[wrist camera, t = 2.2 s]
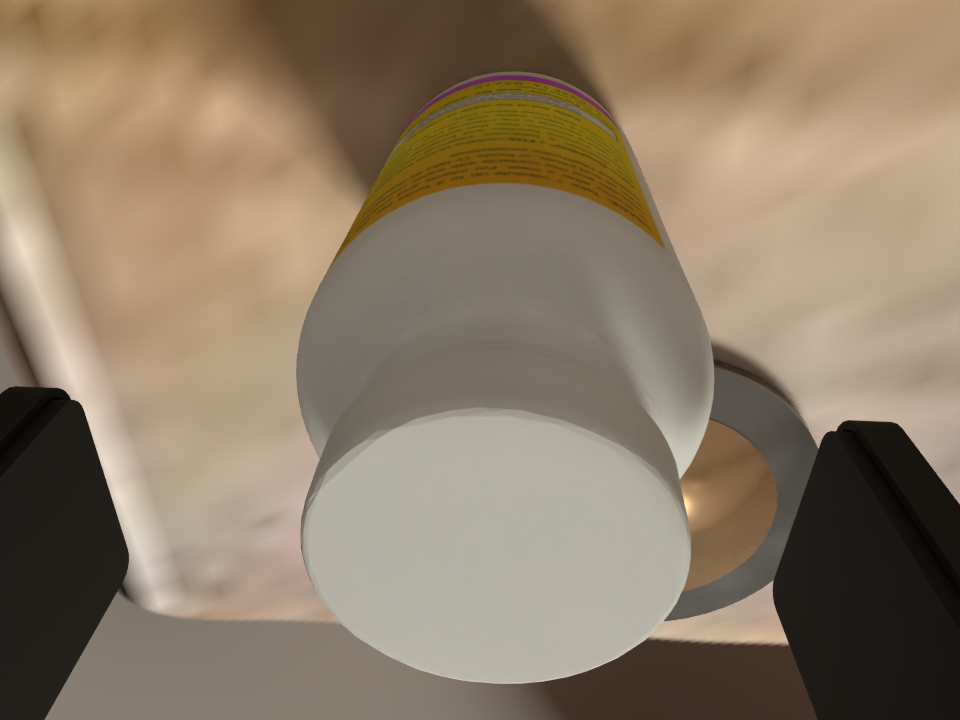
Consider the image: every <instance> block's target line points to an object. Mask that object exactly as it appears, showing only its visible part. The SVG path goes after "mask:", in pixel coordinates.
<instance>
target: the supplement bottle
mask: <svg viewBox="0 0 960 720" xmlns="http://www.w3.org/2000/svg"><path fill="white" fill-rule="evenodd" d="M296 377H297V391H298V398H299V404H300V409H301V413H302V417H303V420H304V423H305V426H306V429H307V432H308V435H309V437H310V440H311V442H312V444H313V446H314V448H315V450H316V452H317V454H318V456H319V458H320V461H319V463H318V466H317V469H316V471H315V474H314V477H313V480H312V483H311V486H310V488H309V491H308V494H307V497H306V500H305V505H304V509H303V514H302V518H301V550H302V554H303V559H304V563H305V567H306V570H307V573H308V576H309V578H310V580H311V582H312V584H313V586H314V588H315V590H316V592H317V594H318V595H319V596H320V598H321V599H322V601H323V602H324V604H325V605H326V606H327V608H328V609H329V610H330V612H331V613H332V614H333V615H334V616H335V617H336V618H337V620H338V621H339V622H340V623H341V624H342V625H344V626H345V627H346V628H347V629H348V630H349V631H350V632H351V633H353V634H354V635H355V636H356V637H358V638H359V639H361V640H362V641H364V642H366V643H368V644H369V645H371V646H372V647H374V648H375V649H377V650H379V651H380V652H382V653H384V654H386V655H388V656H389V657H391V658H393V659H395V660H398V661H400V662H402V663H405V664H407V665H409V666H411V667H413V668H416V669H419V670H422V671H425V672H429V673H432V674H436V675H440V676H444V677H448V678H453V679H458V680H464V681H471V682H487V683H497V684H500V683H501V684H503V683H504V684H507V683H530V682H541V681H547V680H553V679H558V678H564V677H568V676H571V675H575V674H578V673H582V672H585V671H588V670H590V669H593V668H596V667H598V666H600V665H602V664H605V663H607V662H609V661H612V660H614V659H616V658H618V657H619V656H621V655H622V654H624V653H626V652H627V651H629V650H630V649H632V648H633V647H635V646H636V645H638V644H639V643H641V642H643V641H644V640H646V639H647V638H648V637H649V636H650V635H651V634H652V633H653V632H654V631H655V630H656V629H657V628H658V627H659V626H660V624H661V623H662V622H663V621H664V620H665V619H666V617H667V616H668V615H669V614H670V612H671V611H672V609H673V608H674V606H675V605H676V603H677V601H678V599H679V597H680V594H681V592H682V590H683V588H684V586H685V583H686V580H687V576H688V572H689V567H690V559H691V535H690V528H689V522H688V517H687V512H686V508H685V503H684V499H683V494H682V489H681V484H680V479H681V477H682V476H683V474H684V473H685V472H686V470H687V469H688V467H689V466H690V464H691V462H692V460H693V459H694V457H695V455H696V453H697V450H698V448H699V446H700V444H701V441H702V439H703V437H704V434H705V431H706V428H707V425H708V421H709V416H710V412H711V407H712V402H713V392H714V363H713V353H712V347H711V341H710V337H709V334H708V330H707V327H706V324H705V321H704V318H703V316H702V313H701V310H700V308H699V306H698V303H697V301H696V299H695V296H694V294H693V292H692V290H691V287H690V285H689V283H688V281H687V278H686V276H685V274H684V272H683V269H682V267H681V265H680V262H679V260H678V258H677V255H676V253H675V251H674V248H673V246H672V243H671V241H670V239H669V236H668V234H667V232H666V229H665V227H664V224H663V222H662V219H661V217H660V215H659V212H658V210H657V207H656V205H655V202H654V200H653V198H652V195H651V193H650V190H649V188H648V185H647V183H646V181H645V178H644V176H643V173H642V171H641V168H640V166H639V164H638V161H637V159H636V157H635V154H634V152H633V150H632V148H631V146H630V144H629V142H628V140H627V138H626V136H625V134H624V133H623V131H622V129H621V128H620V127H619V125H618V124H617V122H616V121H615V120H614V118H613V117H612V116H611V115H610V114H609V113H608V112H607V111H606V110H605V109H604V108H603V107H602V106H601V105H600V104H599V103H598V102H597V101H596V100H594V99H593V98H592V97H590V96H589V95H587V94H586V93H585V92H583V91H582V90H580V89H578V88H576V87H574V86H572V85H570V84H568V83H566V82H564V81H562V80H559V79H557V78H553V77H550V76H546V75H542V74H536V73H530V72H520V71H513V72H496V73H490V74H485V75H480V76H476V77H473V78H470V79H468V80H465V81H463V82H460V83H458V84H456V85H454V86H452V87H451V88H449V89H447V90H445V91H443V92H442V93H440V94H439V95H437V96H436V97H435V98H433V99H432V100H431V101H430V102H428V103H427V104H426V105H425V106H424V107H423V108H422V109H421V110H420V111H419V112H418V113H417V114H416V115H415V116H414V117H413V119H412V120H411V121H410V122H409V124H408V125H407V126H406V128H405V129H404V131H403V132H402V134H401V135H400V137H399V139H398V140H397V142H396V144H395V146H394V147H393V149H392V151H391V153H390V155H389V157H388V159H387V161H386V163H385V164H384V166H383V168H382V170H381V172H380V174H379V176H378V178H377V180H376V182H375V184H374V185H373V187H372V189H371V191H370V193H369V195H368V197H367V198H366V200H365V202H364V204H363V206H362V208H361V210H360V212H359V213H358V215H357V217H356V219H355V221H354V223H353V224H352V226H351V228H350V230H349V232H348V234H347V236H346V238H345V240H344V242H343V243H342V245H341V247H340V249H339V251H338V252H337V254H336V256H335V258H334V260H333V262H332V264H331V265H330V267H329V269H328V271H327V273H326V275H325V276H324V278H323V280H322V282H321V284H320V285H319V287H318V290H317V292H316V294H315V296H314V298H313V300H312V302H311V305H310V307H309V309H308V312H307V315H306V318H305V321H304V324H303V327H302V331H301V335H300V341H299V348H298V354H297V369H296Z"/></svg>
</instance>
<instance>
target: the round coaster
mask: <svg viewBox="0 0 960 720" xmlns="http://www.w3.org/2000/svg"><path fill="white" fill-rule="evenodd" d="M713 363H714V392H713V402H712V407H711V412H710V416H709V421H708V425H707V428H706V431H705V434H704V437H703V439H702V441H701V444H700V446H699V448H698V450H697V453H696V455H695V457H694V459H693V460H692V462H691V464H690V466H689V467H688V469H687V470H686V472H685V473H684V474H683V476H682V477H681V479H680V484H681V489H682V494H683V499H684V503H685V508H686V512H687V517H688V522H689V528H690V535H691V559H690V567H689V572H688V576H687V580H686V583H685V586H684V588H683V590H682V592H681V594H680V597H679V599H678V601H677V603H676V605H675V606H674V608H673V609H672V611H671V612H670V614H669V615H668V616H667V617H666V619H665V620H664V621H671V620H677V619H684V618H689V617H693V616H697V615H701V614H706V613H709V612H712V611H715V610H718V609H721V608H724V607H726V606H729V605H731V604H733V603H735V602H738V601H740V600H742V599H744V598H746V597H748V596H749V595H751V594H753V593H755V592H757V591H758V590H760V589H762V588H763V587H764V586H766V585H767V584H769V583H770V582H771V581H773V580H774V578H775V575H776V572H777V569H778V566H779V563H780V560H781V557H782V554H783V551H784V549H785V546H786V543H787V540H788V537H789V534H790V531H791V528H792V525H793V522H794V520H795V517H796V514H797V511H798V508H799V505H800V502H801V499H802V496H803V494H804V491H805V488H806V485H807V482H808V479H809V476H810V473H811V470H812V467H813V465H814V462H815V459H816V456H817V453H818V448H817V446H816V443H815V441H814V439H813V437H812V435H811V434H810V432H809V430H808V428H807V426H806V424H805V422H804V421H803V419H802V418H801V416H800V415H799V414H798V412H797V411H796V410H795V408H794V407H793V405H792V404H791V403H790V402H789V401H788V400H787V399H786V398H784V397H783V396H782V395H781V394H780V393H779V392H778V391H777V390H776V389H774V388H773V387H771V386H770V385H769V384H767V383H766V382H764V381H763V380H762V379H760V378H758V377H756V376H754V375H752V374H750V373H748V372H747V371H745V370H743V369H740V368H738V367H735V366H732V365H729V364H727V363H724V362H721V361H717V360H713Z"/></svg>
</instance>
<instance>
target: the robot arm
mask: <svg viewBox="0 0 960 720" xmlns="http://www.w3.org/2000/svg"><path fill="white" fill-rule="evenodd" d="M128 563H129V553H128V548H127V545H126V542H125V539H124V536H123V533H122V529H121V526H120V523H119V520H118V517H117V514H116V510H115V507H114V504H113V501H112V498H111V495H110V491H109V488H108V485H107V482H106V479H105V476H104V472H103V469H102V466H101V463H100V460H99V457H98V454H97V450H96V447H95V444H94V441H93V438H92V435H91V431H90V428H89V425H88V422H87V419H86V416H85V412H84V410H83V408H82V405H81V404H80V403H79V402H78V401H75V400H71V399H70V397H69V395H68V394H67V393H66V392H65V391H64V390H62V389H59V388H43V387H19V386H15V387H10V388H8V389H7V390H5V391H4V392H2V393H1V394H0V720H44V719H45V718H46V716H47V714H48V712H49V711H50V709H51V707H52V705H53V704H54V702H55V700H56V698H57V696H58V695H59V693H60V691H61V689H62V688H63V686H64V684H65V682H66V681H67V679H68V677H69V675H70V674H71V672H72V670H73V668H74V666H75V665H76V663H77V661H78V660H79V658H80V656H81V654H82V653H83V651H84V649H85V647H86V645H87V644H88V642H89V640H90V638H91V637H92V635H93V633H94V631H95V630H96V628H97V626H98V624H99V623H100V621H101V619H102V617H103V616H104V614H105V612H106V610H107V609H108V607H109V605H110V603H111V601H112V600H113V598H114V596H115V594H116V593H117V591H118V589H119V587H120V586H121V584H122V582H123V580H124V578H125V576H126V573H127V569H128ZM773 599H774V604H775V608H776V611H777V613H778V616H779V619H780V621H781V624H782V626H783V629H784V632H785V634H786V637H787V640H788V642H789V645H790V647H791V650H792V653H793V655H794V658H795V661H796V663H797V666H798V668H799V671H800V673H801V676H802V678H803V681H804V684H805V687H806V689H807V692H808V694H809V697H810V700H811V702H812V705H813V707H814V710H815V713H816V715H817V718H818V720H960V504H959V503H958V502H957V500H956V499H955V498H954V496H953V495H952V494H951V492H950V491H949V490H948V488H947V487H946V486H945V484H944V483H943V482H942V480H941V479H940V478H939V476H938V475H937V474H936V472H935V471H934V470H933V469H932V467H931V466H930V465H929V463H928V462H927V461H926V459H925V458H924V457H923V455H922V454H921V453H920V451H919V450H918V449H917V447H916V446H915V445H914V443H913V442H912V441H911V439H910V438H909V437H908V435H907V434H906V433H905V431H904V430H903V429H902V428H901V427H900V426H899V425H898V424H896V423H893V422H877V421H853V420H848V421H844V422H842V423H841V425H840V426H839V427H838V429H837V431H830V432H827V433H826V434H825V435H824V437H823V439H822V441H821V444H820V447H819V450H818V453H817V456H816V459H815V462H814V465H813V467H812V470H811V473H810V476H809V479H808V482H807V485H806V488H805V491H804V494H803V496H802V499H801V502H800V505H799V508H798V511H797V514H796V517H795V520H794V522H793V525H792V528H791V531H790V534H789V537H788V540H787V543H786V546H785V549H784V551H783V554H782V557H781V560H780V563H779V566H778V569H777V572H776V575H775V578H774V582H773Z"/></svg>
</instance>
